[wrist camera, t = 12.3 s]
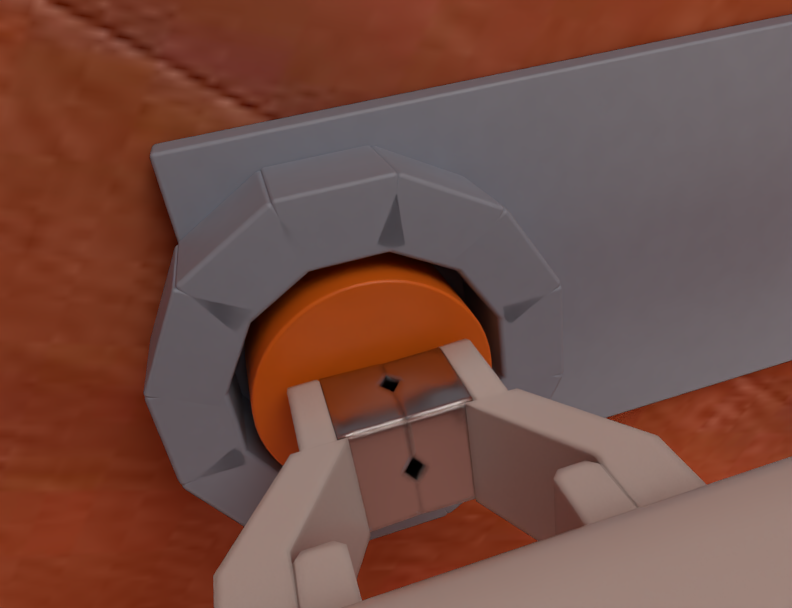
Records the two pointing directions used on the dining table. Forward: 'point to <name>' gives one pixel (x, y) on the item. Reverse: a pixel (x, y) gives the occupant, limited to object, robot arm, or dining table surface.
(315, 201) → the button block
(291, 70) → the dining table surface
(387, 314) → the button
